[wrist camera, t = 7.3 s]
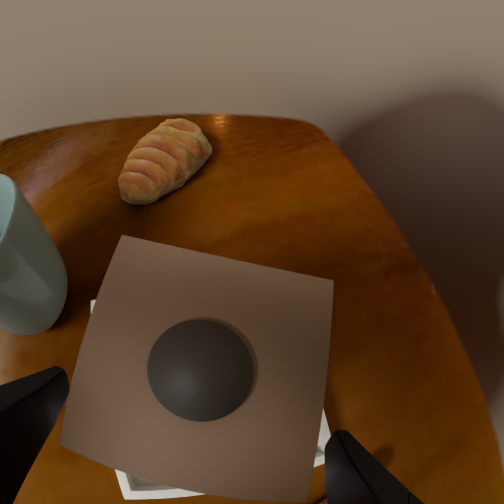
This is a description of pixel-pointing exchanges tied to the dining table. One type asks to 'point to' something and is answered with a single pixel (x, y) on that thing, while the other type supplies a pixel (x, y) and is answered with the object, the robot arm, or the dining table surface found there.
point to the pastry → (163, 161)
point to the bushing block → (203, 373)
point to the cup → (27, 267)
